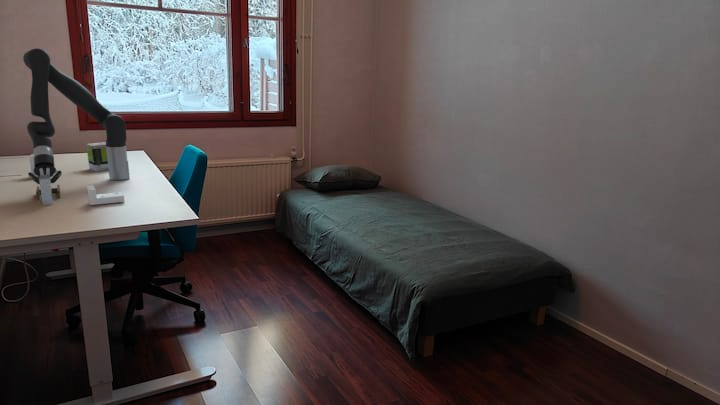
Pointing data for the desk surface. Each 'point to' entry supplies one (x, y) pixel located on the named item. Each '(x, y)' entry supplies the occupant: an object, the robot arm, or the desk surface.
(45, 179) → the grey rectangular block
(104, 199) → the bracket
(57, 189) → the walnut box
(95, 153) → the tea box
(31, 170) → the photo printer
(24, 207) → the desk surface
